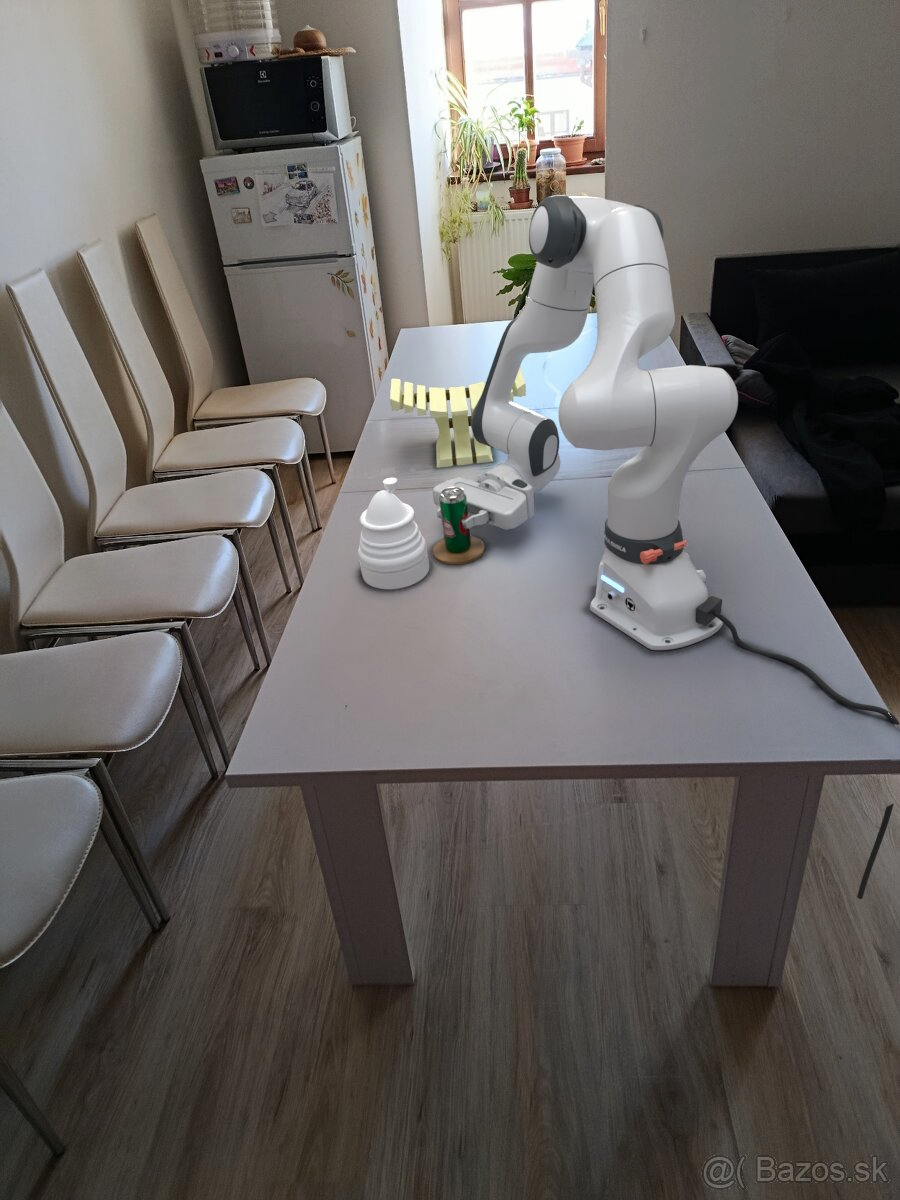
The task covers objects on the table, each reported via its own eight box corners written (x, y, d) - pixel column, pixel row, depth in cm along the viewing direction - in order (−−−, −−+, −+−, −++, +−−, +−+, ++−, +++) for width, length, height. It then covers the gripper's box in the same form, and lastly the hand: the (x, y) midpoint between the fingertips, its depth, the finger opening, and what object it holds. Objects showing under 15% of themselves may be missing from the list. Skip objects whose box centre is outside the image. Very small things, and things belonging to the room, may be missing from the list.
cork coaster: (493, 555, 151) (492, 552, 151) (444, 570, 148) (444, 567, 148) (472, 532, 159) (471, 530, 158) (425, 546, 156) (425, 544, 156)
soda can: (441, 545, 155) (434, 490, 148) (464, 537, 156) (458, 483, 149) (452, 557, 151) (445, 501, 144) (475, 549, 152) (470, 493, 145)
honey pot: (402, 544, 158) (389, 462, 147) (443, 568, 149) (432, 482, 139) (349, 571, 151) (331, 487, 141) (388, 597, 143) (372, 509, 133)
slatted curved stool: (521, 430, 197) (517, 359, 187) (529, 457, 184) (525, 383, 174) (402, 443, 198) (391, 374, 188) (401, 471, 185) (389, 398, 175)
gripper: (458, 464, 161) (411, 491, 153) (538, 488, 149) (491, 519, 141) (461, 491, 165) (415, 519, 157) (540, 517, 153) (493, 549, 145)
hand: (451, 519), depth 149 cm, fingers closed on soda can, 5 cm apart
